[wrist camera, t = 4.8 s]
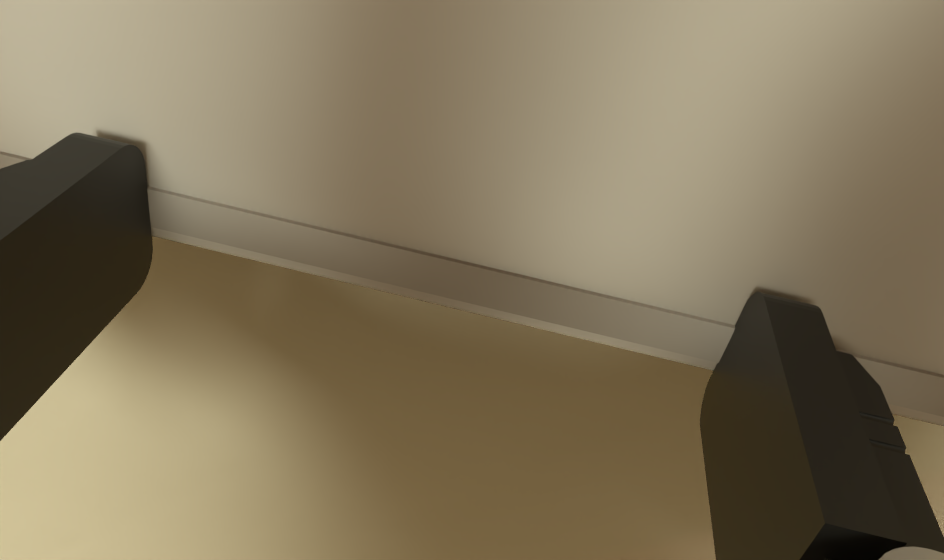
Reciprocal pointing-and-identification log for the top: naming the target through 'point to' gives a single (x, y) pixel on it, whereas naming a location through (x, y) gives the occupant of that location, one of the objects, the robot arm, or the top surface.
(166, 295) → the top surface
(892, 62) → the plank
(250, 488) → the top surface
